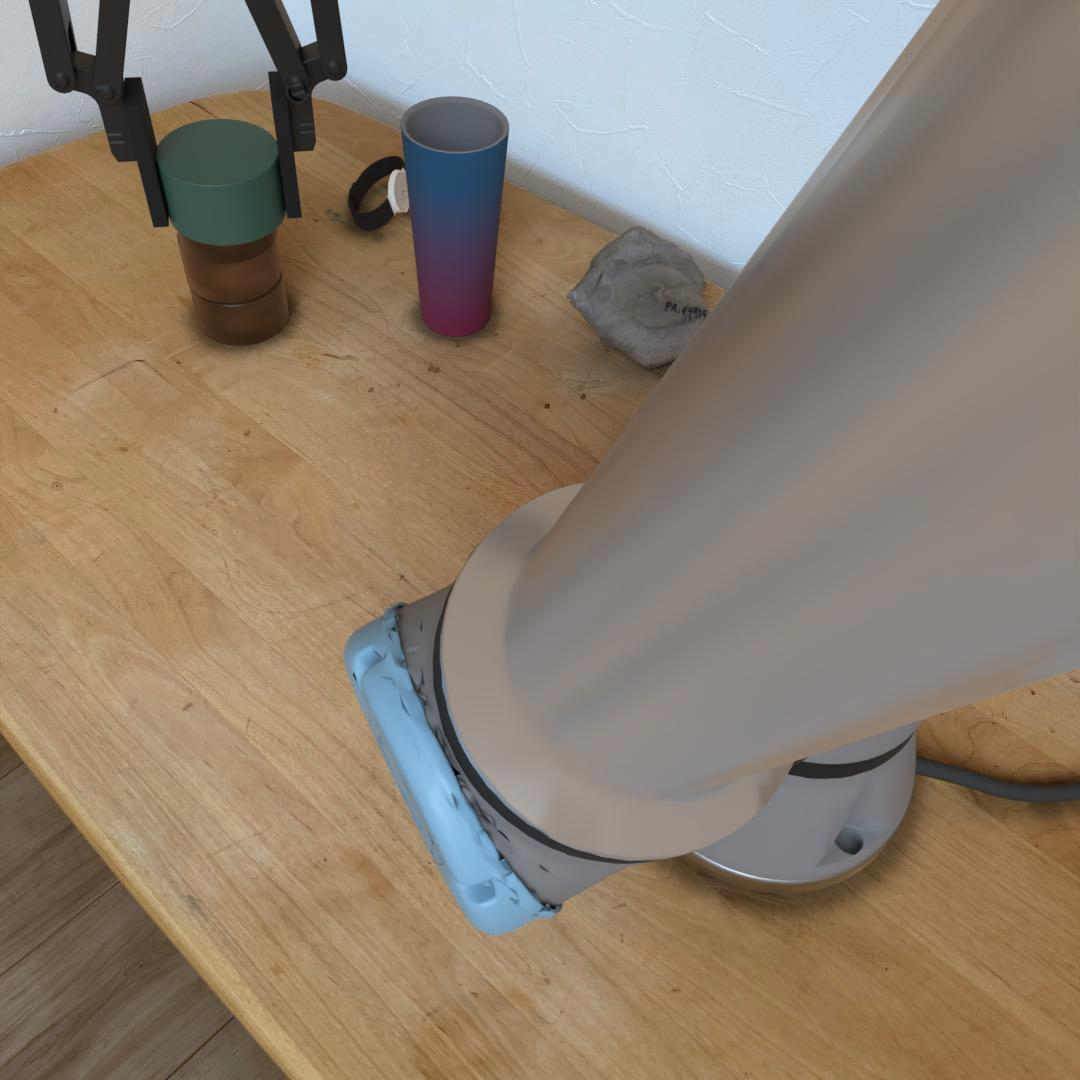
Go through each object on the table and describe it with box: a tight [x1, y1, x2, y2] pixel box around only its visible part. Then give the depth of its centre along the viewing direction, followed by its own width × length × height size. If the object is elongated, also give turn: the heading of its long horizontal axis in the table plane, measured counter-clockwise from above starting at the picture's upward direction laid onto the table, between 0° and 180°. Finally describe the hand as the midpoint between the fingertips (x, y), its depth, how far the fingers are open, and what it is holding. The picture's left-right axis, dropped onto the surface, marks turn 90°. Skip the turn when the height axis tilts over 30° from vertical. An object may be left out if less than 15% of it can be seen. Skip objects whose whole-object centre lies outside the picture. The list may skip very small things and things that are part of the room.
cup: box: [399, 95, 510, 337], centre depth 72 cm, size 7×7×15 cm
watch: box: [347, 155, 410, 232], centre depth 85 cm, size 8×5×4 cm, turn 166°
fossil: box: [566, 225, 711, 369], centre depth 74 cm, size 11×9×8 cm
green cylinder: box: [156, 118, 287, 246], centre depth 54 cm, size 6×6×4 cm
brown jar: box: [176, 228, 290, 346], centre depth 73 cm, size 7×7×10 cm
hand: (227, 206), depth 56 cm, fingers closed on green cylinder, 6 cm apart
